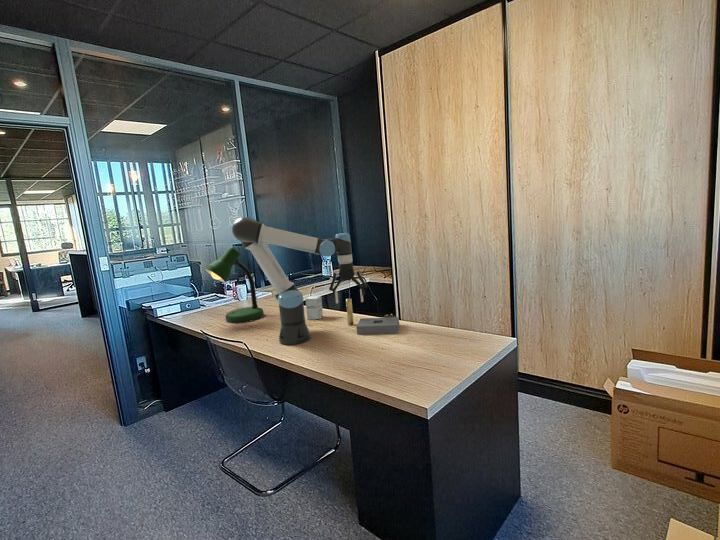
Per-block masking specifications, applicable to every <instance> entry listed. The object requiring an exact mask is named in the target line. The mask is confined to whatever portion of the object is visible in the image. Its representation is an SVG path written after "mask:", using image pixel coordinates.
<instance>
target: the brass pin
mask: <svg viewBox="0 0 720 540" xmlns="http://www.w3.org/2000/svg"><path fill="white" fill-rule="evenodd" d="M352 302H353V301H352V298H346V299H345V304H346V305H345V306H346V315H347V318H346V319H347V325H348V326H354V325H353V324H354V323H355V322H354V314H353V313H354V312H353V303H352Z"/></svg>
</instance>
